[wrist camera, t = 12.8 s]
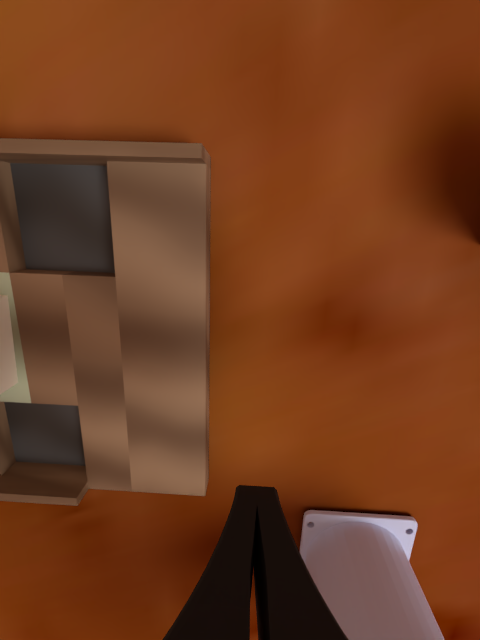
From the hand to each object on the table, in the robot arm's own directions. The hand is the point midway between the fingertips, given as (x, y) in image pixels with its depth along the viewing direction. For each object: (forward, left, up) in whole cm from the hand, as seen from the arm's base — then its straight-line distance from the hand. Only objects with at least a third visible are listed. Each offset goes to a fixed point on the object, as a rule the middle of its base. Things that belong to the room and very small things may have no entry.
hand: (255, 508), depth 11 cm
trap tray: (+2, +12, -10) cm, 16 cm away
